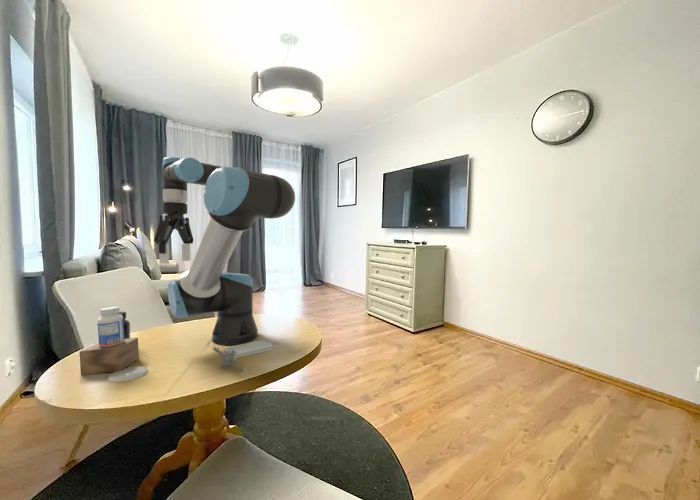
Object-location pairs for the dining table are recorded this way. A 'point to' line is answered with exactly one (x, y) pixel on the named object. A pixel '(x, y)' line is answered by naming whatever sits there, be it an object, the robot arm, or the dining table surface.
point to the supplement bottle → (126, 325)
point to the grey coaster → (127, 374)
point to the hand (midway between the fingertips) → (175, 262)
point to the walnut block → (108, 357)
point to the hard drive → (250, 348)
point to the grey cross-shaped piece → (228, 358)
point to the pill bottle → (110, 327)
